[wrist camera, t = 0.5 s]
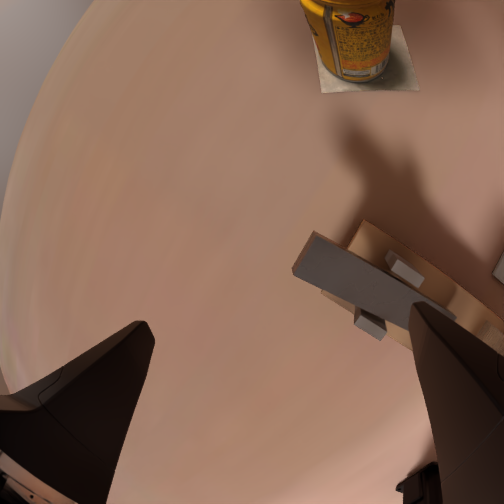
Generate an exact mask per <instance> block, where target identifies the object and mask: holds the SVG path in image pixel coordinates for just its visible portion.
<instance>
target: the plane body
mask: <svg viewBox="0 0 504 504" xmlns="http://www.w3.org/2000/svg"><path fill="white" fill-rule="evenodd" d="M346 249H348V250H350V251H352V252H354V253H355V254H357V255H359V256H361V257H362V258H364V259H366V260H368V261H369V262H371V263H373V264H375V265H376V266H378V267H380V268H381V269H383V270H385V271H387V272H388V273H390V274H392V275H393V276H395V277H397V278H398V279H400V280H402V281H404V282H405V283H407V284H408V285H410V286H412V287H413V288H415V289H417V290H418V291H420V292H422V293H423V294H425V295H427V296H428V297H430V298H431V299H433V300H435V301H436V302H438V303H439V304H441V305H442V306H444V307H446V308H447V309H449V310H450V311H451V312H452V313H453V314H454V315H455V316H456V317H457V319H456V320H455V322H456V323H458V324H459V325H461V326H462V327H463V328H465V329H466V330H468V331H469V332H471V333H472V334H473V335H475V336H476V335H477V334H478V332H479V331H480V329H481V328H482V326H483V325H484V323H485V322H486V320H487V321H489V322H490V323H491V324H492V325H493V326H495V327H496V328H497V329H498V330H499V331H501V332H502V333H503V334H504V321H503V320H502V319H501V318H499V317H498V316H497V315H496V314H495V313H494V312H492V311H491V310H490V309H489V308H488V307H486V306H485V305H484V304H483V303H482V302H480V301H479V300H478V299H477V298H475V297H474V296H473V295H472V294H470V293H469V292H468V291H467V290H465V289H464V288H463V287H461V286H460V285H459V284H458V283H456V282H455V281H454V280H452V279H451V278H450V277H448V276H447V275H446V274H444V273H443V272H442V271H440V270H439V269H437V268H436V267H435V266H433V265H432V264H430V263H429V262H428V261H426V260H425V259H423V258H422V257H421V256H419V255H418V254H416V253H415V252H413V251H412V250H410V249H409V248H408V247H406V246H405V245H403V244H402V243H400V242H399V241H397V240H396V239H394V238H393V237H391V236H390V235H388V234H386V233H385V232H383V231H382V230H380V229H379V228H377V227H376V226H374V225H372V224H371V223H369V222H368V221H366V220H364V219H363V221H362V223H361V224H360V226H359V228H358V230H357V231H356V233H355V235H354V237H353V238H352V240H351V242H350V243H349V245H348V247H347V248H346ZM321 294H323V295H324V296H326V297H327V298H329V299H331V300H332V301H334V302H335V303H337V304H338V305H340V306H342V307H343V308H345V309H346V310H348V311H350V312H351V313H353V314H354V325H355V326H357V327H359V328H360V329H362V330H363V331H365V332H367V333H368V334H370V335H371V336H373V337H375V338H376V339H378V340H379V341H381V340H382V338H383V337H384V336H385V335H388V336H389V337H391V338H392V339H394V340H395V341H397V342H399V343H400V344H402V345H403V346H405V347H406V348H408V349H410V350H411V351H413V349H412V344H411V339H410V334H409V331H407V330H405V329H403V328H401V327H399V326H397V325H395V324H393V323H391V322H388V321H386V320H384V319H382V318H380V317H378V316H376V315H374V314H372V313H370V312H368V311H366V310H364V309H362V308H360V307H358V306H355V305H353V304H351V303H349V302H347V301H345V300H343V299H341V298H339V297H337V296H335V295H333V294H331V293H329V292H327V291H325V290H323V289H322V291H321Z"/></svg>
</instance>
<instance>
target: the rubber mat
mask: <svg viewBox="0 0 504 504" xmlns="http://www.w3.org/2000/svg"><path fill="white" fill-rule="evenodd" d="M492 275H494V276H495V277H496V278H497V279H498V280H499V281H500V282H501V283H503V284H504V252H503V254H502V256H501V258H500V260H499V262H498V263H497V265H496V267H495V269H494V271H493V273H492Z"/></svg>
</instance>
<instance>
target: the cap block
mask: <svg viewBox="0 0 504 504" xmlns="http://www.w3.org/2000/svg"><path fill="white" fill-rule="evenodd" d="M476 337H478V338H479V339H480V340H482V341H483V342H485V343H486V344H487V345H489V346H490V347H491V348H493V349H494V350H496V351H497V352H498V353H500V354H501V355H502V356H504V334H503V333H502V332H501V331H499V330H498V329H497V328H496V327H495V326H493V325H492V324H491V323H490V322H489V321H487V320H486V322H485V323H484V325H483V326H482V328H481V329H480V331H479V332H478V334H477V335H476Z"/></svg>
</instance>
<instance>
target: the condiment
mask: <svg viewBox="0 0 504 504" xmlns="http://www.w3.org/2000/svg"><path fill="white" fill-rule="evenodd" d="M300 4H301V6H302V8H303V10H304V12H305V16H306V18H307V21H308V24H309V26H310V29H311V32H312V37H313V42H314V48H315V53H316V59H317V65H318V71H319V77H320V85H321V92H322V93H328V92H346V91H369V90H416V91H420V88H419V84H418V81H417V77H416V74H415V70H414V67H413V64H412V60H411V57H410V53H409V51H408V47H407V44H406V41H405V38H404V35H403V32H402V29H401V26H400V25H393V17H394V7H395V6H394V4H395V0H300ZM382 78H383V79H382Z"/></svg>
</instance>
